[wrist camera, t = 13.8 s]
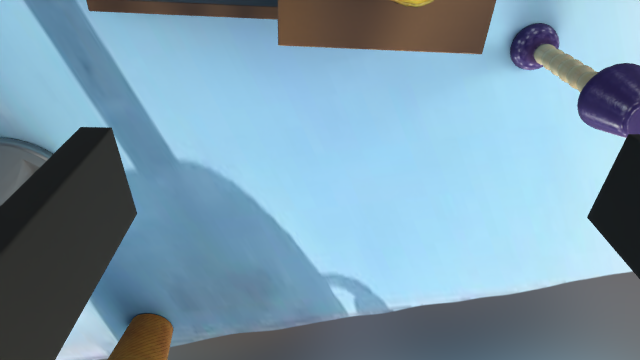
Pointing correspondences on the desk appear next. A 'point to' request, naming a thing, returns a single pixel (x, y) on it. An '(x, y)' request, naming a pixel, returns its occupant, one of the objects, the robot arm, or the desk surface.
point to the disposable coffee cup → (144, 339)
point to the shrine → (412, 2)
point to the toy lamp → (585, 81)
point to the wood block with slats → (343, 21)
